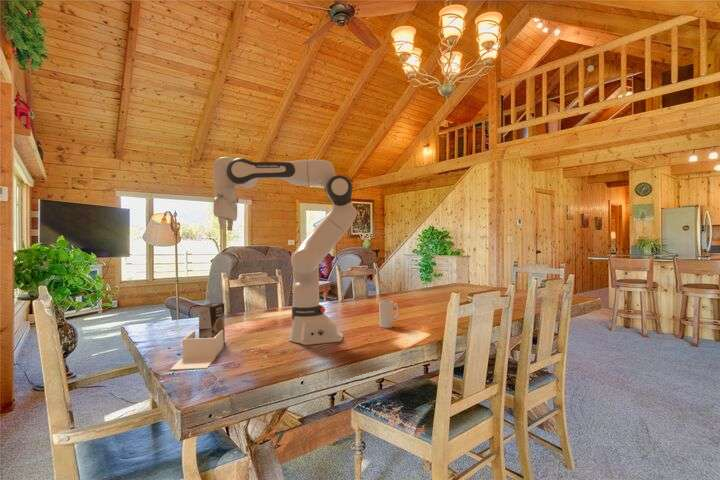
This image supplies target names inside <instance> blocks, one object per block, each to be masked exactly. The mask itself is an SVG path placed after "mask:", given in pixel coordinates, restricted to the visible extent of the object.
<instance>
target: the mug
mask: <svg viewBox="0 0 720 480" xmlns="http://www.w3.org/2000/svg"><path fill="white" fill-rule="evenodd" d="M394 308H396V310H397V311H396V313H395V314H396V315H394ZM378 310H379V312H378V314H379V315H378V316H379V317H378V318H379V319H378V320H379V327H380V328H382V329H383V328H384V329H391V328H394V327H393V326H394V321H397V320H398V318H399V316H400V307H399V306H398V303H397V302H395V303H394V301H393V300H389V299H388V300H387V299H386V300H379V301H378Z"/></svg>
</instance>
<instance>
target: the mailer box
mask: <svg viewBox="0 0 720 480" xmlns="http://www.w3.org/2000/svg"><path fill="white" fill-rule="evenodd" d="M223 349H224V342H223V330H221V331H220V332H219V333H218V334H217V335H216V336H215V337H214V338H199V337H198V338H197V337H196V330H192V331H191V332H190V333H188V334H187V335H186V336H185V337H184V338H183V339H182V358H181V359H179V360H178V361H177V362H176V363H175V364H174V365H173V366H172V367H171V368H170V369H169V371H185V370H187V371H188V370H202V369H203V370H204V369H205V370H206V369H208V368H209V367H210V366H211V365H212V363H213V362H214V361H215V360H216V358H217V356H218V355H219V354H220V352H221V351H222V350H223Z"/></svg>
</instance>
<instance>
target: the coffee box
mask: <svg viewBox="0 0 720 480" xmlns="http://www.w3.org/2000/svg"><path fill="white" fill-rule="evenodd" d="M225 325H226V324H225V302H214V303H213V302H210V303H208V304H204V305H200V306H198V338H214V337H215V336H216V335H217V334H218V333H219V332H220V331H221V330H223V343H224V342H225V341H226V337H225V336H226V334H225V331H226V330H225V329H226V328H225Z"/></svg>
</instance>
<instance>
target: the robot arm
mask: <svg viewBox="0 0 720 480" xmlns="http://www.w3.org/2000/svg"><path fill="white" fill-rule="evenodd" d="M212 167H213V168H212V179H213V184H214V186H213V216H214V217H216V218H217V220H218V224H219V229H220V230H225V229H226V230H227V231H228V232H229V231H230V232H231V231H233V226H234V225H233V224H234V222H236V221H237V219H238V204H239V198H238V196H237V188H240V189H247V190H248V189H253V188H254V187H255V186H256V185H258V183H259V179H279V180H283V181H285V182H287V183H289V184H291V185H293V186H299V187H312V186H315V187H316V186H319V187H323V189H324V191H325V194H326V197H327V198H328V201H330V202H331V203H332V208H331V209H330V211H328V212H327V214H326V215H325V217H323V219H322V220H321V221H320V222H319V223H318V225H317V226H316V227H315V228H314V229H313V230H311V231H312V232H311V233H310V234H309V235H307V237H306V238H305V239H304V240H303V241H302V242H301V244H300V245H298V247H297V249H296V250H295V251H294V252H293V253H292V255H291V258H290V259H291V260H290V263H291V264H290V265H291V267H292V270H293V271H292V273H293V274H292V306H291V319H292V323H291V332H290V336H289V341H290V342H292V343H297V344H301V345H304V346H306V345H307V346H309V345H316V344H319V345H320V344H327V343H328V344H329V343H339V342H342V340H343V338H344V335H343V333H342V332H340V331H339V330H338V326H337V323H336V322H335V320H333V319H332V318H330V316H328V315H327V314H325V313H326V308H325V307H324V306H323V305H321V304H320V286H319V285H320V271H319V270H320V264H321V263H322V262H323V261H324V259H325V258H326V257H327V256H328V255H329V253H330V252H331V251H332V249H333V248H334V247H335V246H336V245H337V244H338V243H339V241H340V240H341V239H342V237H344V236H345V234H346V233H347V232H348V230H349V229H350V228H351V226H352V225H353V223H354V222H355V220H356V218H357V215H358V211H357V209H356V207H355V206H354V205H353V204H352V203H351V201H352V195H353V188H354V186H353V183H352V181H351V180H350V179H349V177H347V176H345V175H342V174H336V171H335V166H334V165H333V163H332V162H331V161H330V160H325V159H312V158H311V159H296V160H288V161H287V160H286V161H252V160H249V159H246V158H242V157H237V158H233V157H230V156H222V157H218V158H217V159H215V160H214V162H213V166H212ZM225 221H227V222H226V223H227V226H226V224H225Z"/></svg>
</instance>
